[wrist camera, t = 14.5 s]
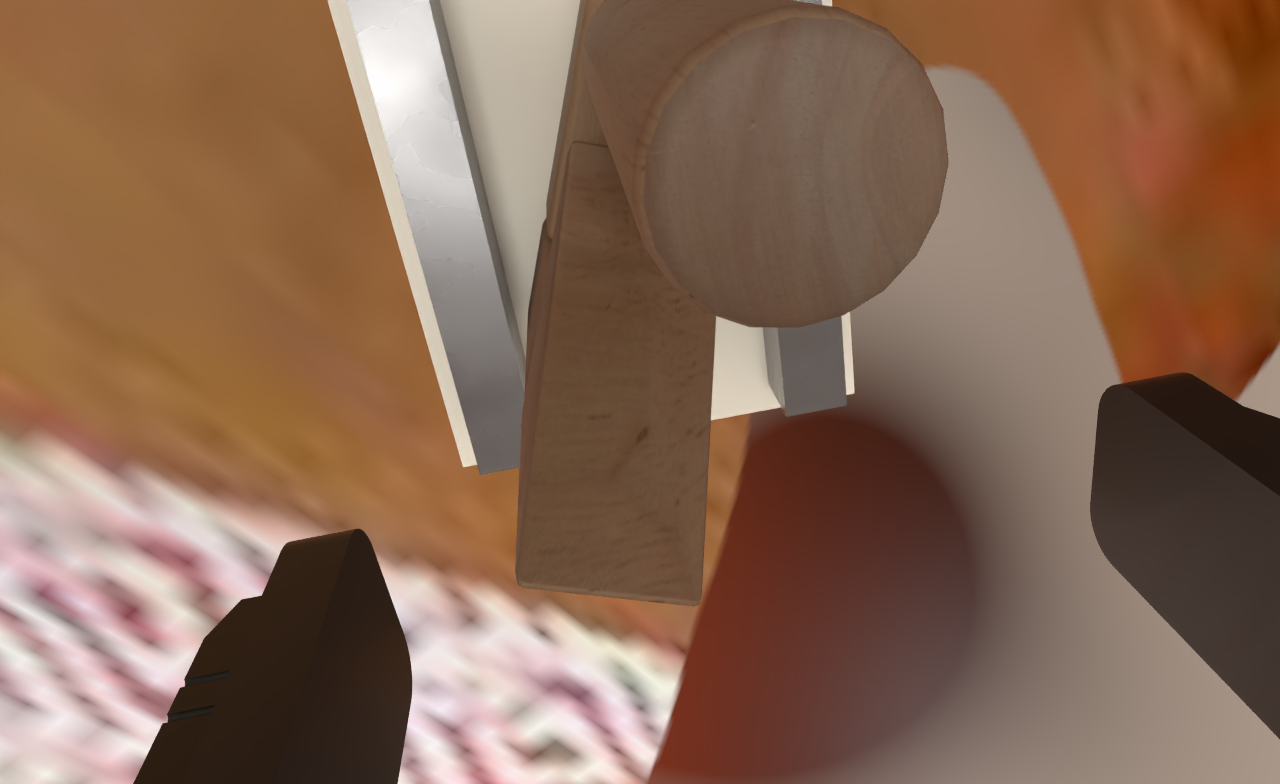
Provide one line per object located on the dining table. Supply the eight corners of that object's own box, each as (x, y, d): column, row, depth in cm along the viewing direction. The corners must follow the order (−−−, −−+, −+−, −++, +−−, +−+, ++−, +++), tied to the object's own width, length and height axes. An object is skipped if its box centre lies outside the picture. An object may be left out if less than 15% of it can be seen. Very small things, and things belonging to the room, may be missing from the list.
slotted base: (466, 446, 32) (457, 506, 29) (294, -155, 24) (251, -175, 20) (841, 375, 33) (878, 426, 29) (801, -244, 24) (846, -280, 21)
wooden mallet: (525, 316, 29) (505, 761, 13) (586, -44, 25) (670, -55, 8) (635, 333, 30) (747, 779, 13) (713, -14, 25) (1018, 30, 9)
